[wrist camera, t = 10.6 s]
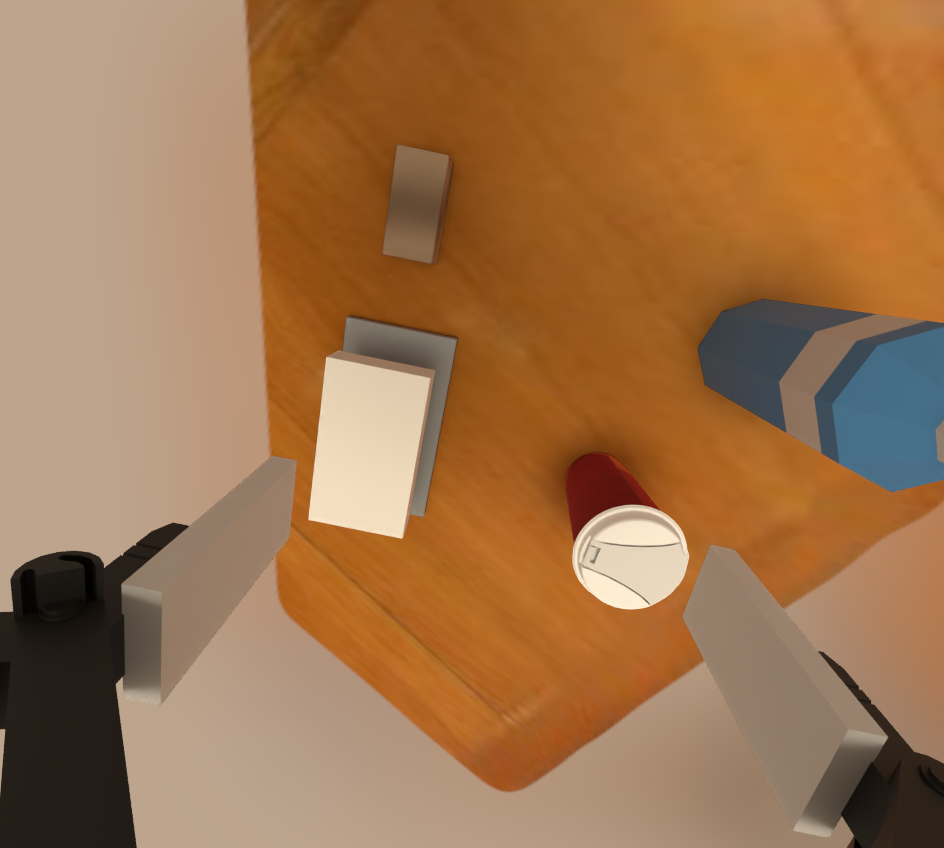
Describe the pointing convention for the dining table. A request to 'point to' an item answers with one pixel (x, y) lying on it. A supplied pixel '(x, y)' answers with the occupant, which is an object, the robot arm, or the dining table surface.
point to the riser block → (417, 204)
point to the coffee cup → (621, 536)
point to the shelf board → (369, 442)
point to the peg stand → (416, 352)
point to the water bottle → (838, 384)
